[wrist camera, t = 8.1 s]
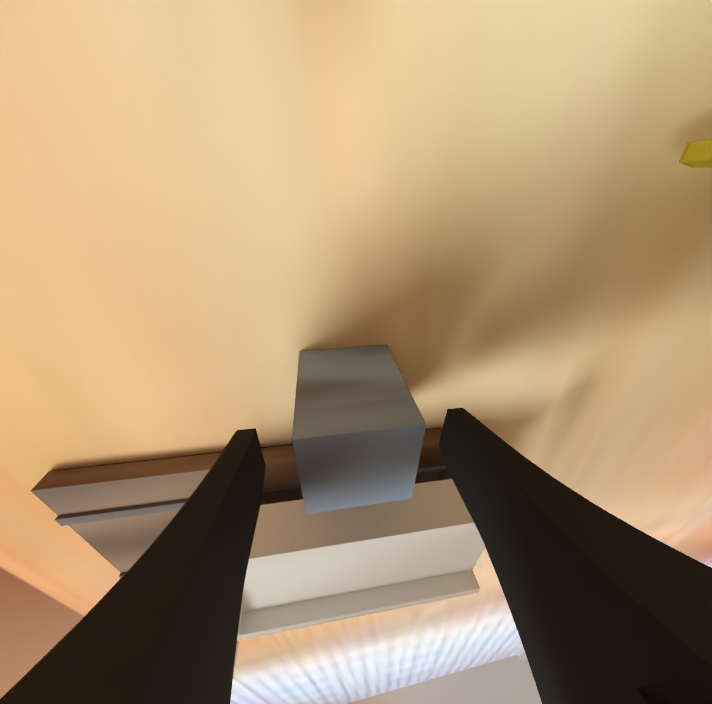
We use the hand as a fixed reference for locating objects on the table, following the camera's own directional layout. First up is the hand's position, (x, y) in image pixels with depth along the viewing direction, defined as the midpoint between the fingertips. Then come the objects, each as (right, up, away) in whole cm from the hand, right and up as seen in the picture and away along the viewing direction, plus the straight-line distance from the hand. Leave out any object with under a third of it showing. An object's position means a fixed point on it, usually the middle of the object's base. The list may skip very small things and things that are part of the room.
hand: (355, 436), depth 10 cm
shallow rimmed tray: (0, -8, +7) cm, 10 cm away
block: (-1, +2, +3) cm, 4 cm away
